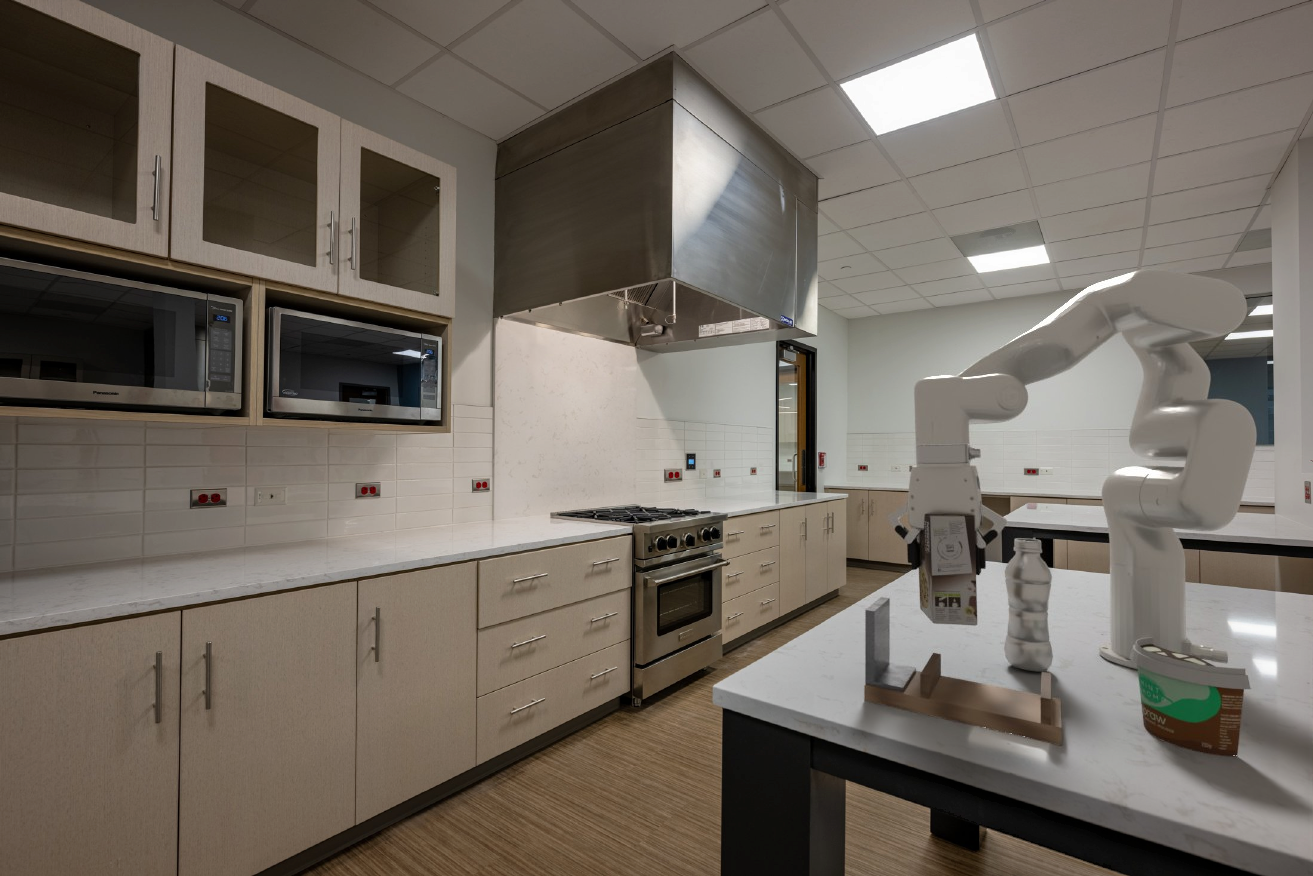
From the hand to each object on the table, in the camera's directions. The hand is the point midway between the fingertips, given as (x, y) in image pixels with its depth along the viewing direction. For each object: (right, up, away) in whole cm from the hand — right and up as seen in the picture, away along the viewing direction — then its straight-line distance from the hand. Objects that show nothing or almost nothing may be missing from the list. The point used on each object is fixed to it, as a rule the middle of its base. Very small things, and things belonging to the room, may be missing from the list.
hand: (945, 570), depth 93 cm
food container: (+17, -15, -21) cm, 31 cm away
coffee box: (0, -7, 0) cm, 7 cm away
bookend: (-12, -13, -9) cm, 20 cm away
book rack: (-5, -15, -14) cm, 21 cm away
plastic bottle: (+13, -16, +1) cm, 21 cm away
